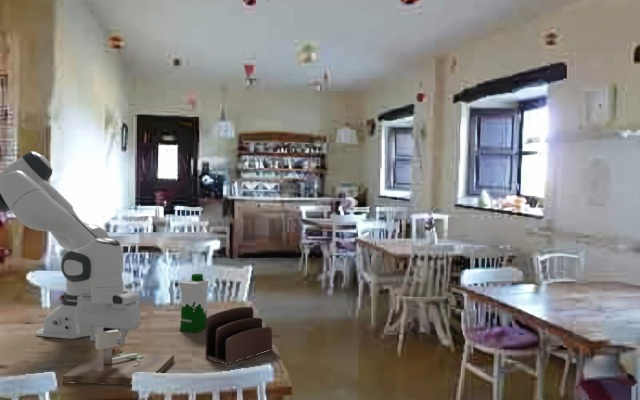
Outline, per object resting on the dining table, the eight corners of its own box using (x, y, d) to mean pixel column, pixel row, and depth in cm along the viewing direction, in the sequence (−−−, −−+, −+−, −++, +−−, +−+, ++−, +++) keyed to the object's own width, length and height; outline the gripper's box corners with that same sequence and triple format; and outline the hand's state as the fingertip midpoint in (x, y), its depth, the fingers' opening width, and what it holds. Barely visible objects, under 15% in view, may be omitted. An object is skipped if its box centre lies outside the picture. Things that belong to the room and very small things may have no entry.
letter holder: (204, 358, 193) (204, 313, 192) (251, 345, 208) (251, 303, 207) (226, 365, 186) (226, 318, 186) (272, 351, 202) (273, 308, 201)
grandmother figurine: (127, 349, 201) (127, 310, 200) (124, 353, 197) (123, 313, 197) (103, 349, 201) (103, 310, 200) (99, 353, 197) (99, 313, 196)
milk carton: (210, 328, 229) (211, 274, 228) (195, 334, 221) (195, 278, 220) (192, 325, 233) (192, 272, 232) (175, 331, 225) (175, 276, 224)
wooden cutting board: (62, 383, 169) (62, 374, 169) (97, 358, 191) (97, 351, 191) (149, 385, 168) (149, 377, 168) (173, 361, 190) (173, 353, 189)
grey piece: (99, 366, 176) (98, 334, 176) (95, 364, 178) (95, 333, 178) (138, 357, 185) (138, 327, 185) (134, 356, 187) (134, 326, 186)
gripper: (70, 294, 179) (70, 341, 180) (130, 299, 172) (130, 348, 173) (85, 290, 185) (85, 336, 186) (143, 295, 178) (144, 343, 179)
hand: (107, 342), depth 179 cm, fingers open, 8 cm apart
